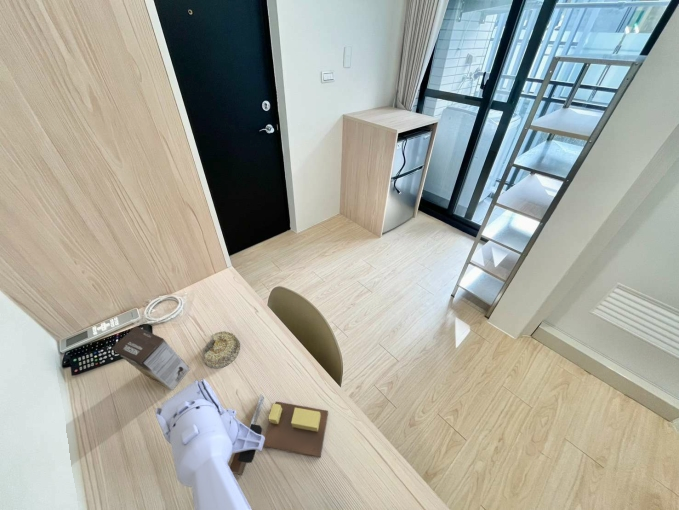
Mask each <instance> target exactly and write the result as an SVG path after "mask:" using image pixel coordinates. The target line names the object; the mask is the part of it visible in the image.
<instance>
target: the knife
mask: <svg viewBox="0 0 679 510" xmlns="http://www.w3.org/2000/svg"><path fill="white" fill-rule="evenodd" d="M264 400H265V397H264V395H263V394H260V395H259V398H258V401H257V404H256V407H255V410H254V413H253V416H252V418H251V421H250V425H249V427H248V428H249V429H250V426H251V424H255V425H257V421H258V417H259V415H260V411H261V409H262V406H263V402H264ZM239 455H240V452H238V453H234V455H233V458H232V461H231V464H230V466H229V468H230V469H231V471H232V473H233V474H235V475H241V476H243V474H244V471H245V468H246V465H247V463H244V462H239V461H238V458H239Z"/></svg>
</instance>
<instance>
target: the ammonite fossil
mask: <svg viewBox="0 0 679 510" xmlns="http://www.w3.org/2000/svg"><path fill="white" fill-rule="evenodd" d="M210 338H211V339H210V340H209V341H208V342H207V344H206V345H205V346H204V348H203V351H202V360H203V362H204V364H205V365H206V366H208V367H210V368H212V369H221V368H224V367H226V366H228V365H230V364H232V363H233V362H234V361H235V359H236V358H237V357H238V355H239V353H240V350H241V344H240V340H239V338H237V337H236V335H235V334H233V333H232V332H229V331H225V330H223V331H221V330H220V331H219V332H218V331H217V332H215V333H213V334H211V335H210Z"/></svg>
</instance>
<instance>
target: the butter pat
mask: <svg viewBox="0 0 679 510" xmlns="http://www.w3.org/2000/svg"><path fill="white" fill-rule="evenodd" d="M281 412H282V408H281V405H278V404H275V403H272V406H271V409H270V412H269V415H268V420H269V422H271V423H274V424H278V423H279V419H280V416H281Z"/></svg>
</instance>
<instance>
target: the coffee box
mask: <svg viewBox="0 0 679 510" xmlns="http://www.w3.org/2000/svg"><path fill="white" fill-rule="evenodd" d="M111 350H112V351H114V352H115V353H116V354H117V355H119V357H121V358H122V359H123V360H125V361H126V362H128V363H129V364H130V365H131V366H132V367H134V368H135V369H136V370H138V371H139V372H140V373H141V374H143V375H144V376H145V377H146V378H148V379H150V380H151V381H154V382H156V383H157V384H159V385H161V386H163V387H165V388H167V389H169V390H170V391H173V390H174V389H175V388H176V387H177V386H178V385H179V383H180V382H181V381H182V380H183V378H184V377H185V376H186V375H187V374H188V373H189V371H190V370H191V368H190V366H188V364H187V363H186V362H185V361H184V360H183V359H182V358H181V356H180V355H179V354H178V353H177V352H176V351H175V349H173V347H172V346H171V344H169V343H168V342H167V341H166V339H165V338H163V337H161V336H159V335H156V334H154V333H152V332H151V331H148V330H145V329H143V328H141V327H139V326H135V327H134V328H132V329H131V330H130V331H129V332H128V333H127V334H125V336H123V337H122V338H121V339H119V341H118V342H117V343H115V344H114V346H113V347H112V348H111Z"/></svg>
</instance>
